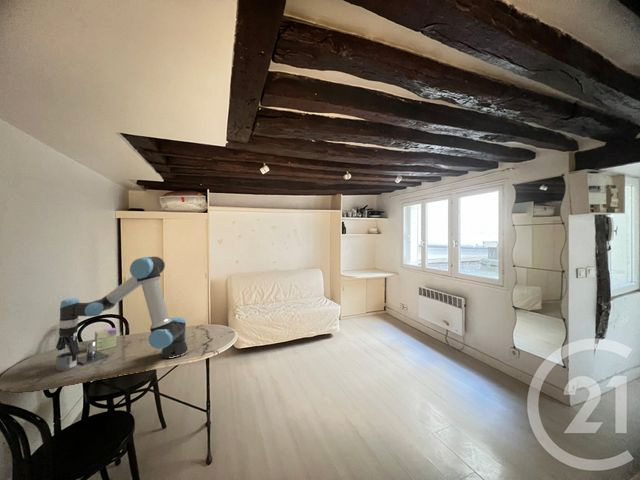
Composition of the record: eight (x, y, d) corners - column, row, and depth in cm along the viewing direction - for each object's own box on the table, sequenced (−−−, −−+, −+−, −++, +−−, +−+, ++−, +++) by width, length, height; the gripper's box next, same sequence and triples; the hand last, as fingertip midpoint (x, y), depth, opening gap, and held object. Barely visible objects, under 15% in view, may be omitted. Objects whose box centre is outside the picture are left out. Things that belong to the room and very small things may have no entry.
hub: (79, 365, 145) (80, 353, 145) (61, 371, 137) (61, 358, 138) (72, 362, 148) (73, 350, 148) (54, 368, 141) (54, 355, 141)
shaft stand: (108, 357, 156) (108, 340, 156) (83, 365, 145) (84, 347, 145) (97, 353, 161) (98, 337, 161) (73, 361, 150) (73, 343, 150)
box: (113, 344, 175) (114, 327, 176) (116, 346, 172) (116, 329, 172) (93, 349, 167) (94, 331, 167) (96, 351, 164) (97, 333, 164)
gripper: (88, 328, 142) (86, 365, 141) (66, 321, 152) (64, 356, 151) (71, 332, 135) (69, 371, 134) (49, 324, 145) (47, 361, 144)
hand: (66, 363), depth 143 cm, fingers open, 13 cm apart
